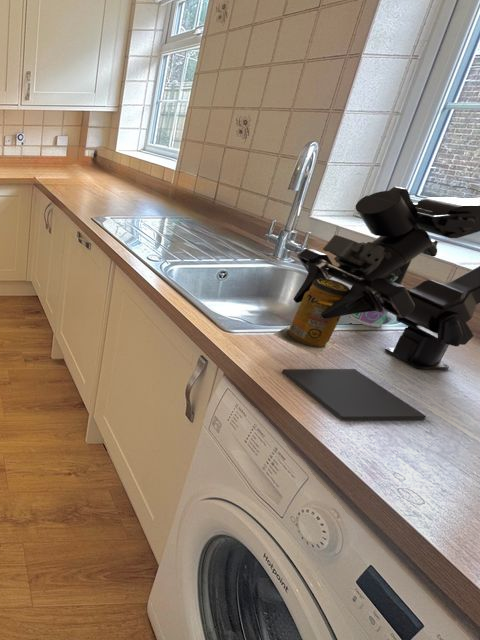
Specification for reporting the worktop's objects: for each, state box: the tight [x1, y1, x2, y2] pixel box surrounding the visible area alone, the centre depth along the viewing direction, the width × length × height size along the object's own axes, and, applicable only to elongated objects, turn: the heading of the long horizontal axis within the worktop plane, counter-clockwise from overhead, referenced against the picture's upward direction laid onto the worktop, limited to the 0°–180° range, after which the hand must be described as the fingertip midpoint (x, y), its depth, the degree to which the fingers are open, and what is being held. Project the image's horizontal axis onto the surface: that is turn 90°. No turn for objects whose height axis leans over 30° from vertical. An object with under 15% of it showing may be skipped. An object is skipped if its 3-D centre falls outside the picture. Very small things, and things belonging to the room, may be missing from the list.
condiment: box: [272, 278, 351, 357], centre depth 76 cm, size 7×8×12 cm
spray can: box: [349, 260, 412, 328], centre depth 91 cm, size 6×6×20 cm
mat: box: [281, 368, 427, 422], centre depth 69 cm, size 14×12×1 cm
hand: (308, 308), depth 76 cm, fingers closed on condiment, 6 cm apart
